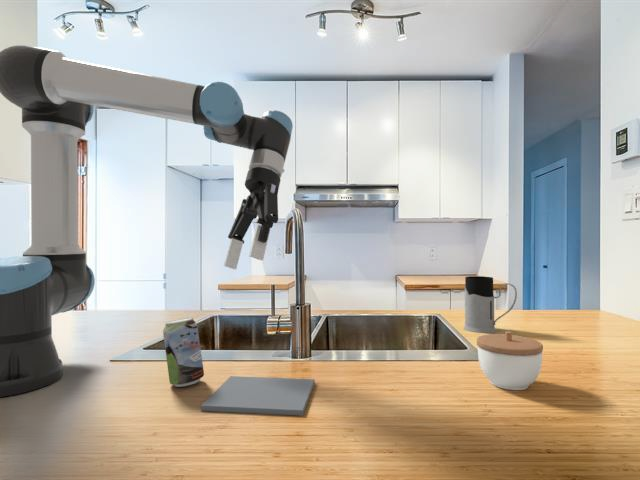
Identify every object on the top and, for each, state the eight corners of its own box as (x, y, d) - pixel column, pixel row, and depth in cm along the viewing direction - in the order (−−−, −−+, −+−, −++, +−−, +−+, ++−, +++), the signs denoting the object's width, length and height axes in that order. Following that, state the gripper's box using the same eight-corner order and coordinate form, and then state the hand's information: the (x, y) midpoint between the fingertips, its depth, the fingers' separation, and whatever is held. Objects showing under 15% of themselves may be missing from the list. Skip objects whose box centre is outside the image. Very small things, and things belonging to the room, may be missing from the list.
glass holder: (468, 324, 118) (467, 275, 118) (519, 330, 110) (519, 277, 110) (459, 330, 111) (459, 278, 111) (514, 337, 103) (513, 280, 103)
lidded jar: (516, 400, 63) (516, 342, 63) (464, 379, 72) (463, 329, 72) (556, 388, 68) (556, 334, 68) (502, 370, 77) (502, 323, 77)
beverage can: (193, 391, 68) (192, 323, 68) (155, 388, 69) (155, 321, 69) (210, 379, 74) (209, 316, 74) (175, 376, 75) (175, 314, 75)
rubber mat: (200, 410, 60) (200, 405, 60) (230, 380, 73) (230, 376, 73) (302, 415, 58) (302, 410, 58) (314, 383, 71) (314, 379, 71)
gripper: (307, 162, 79) (286, 259, 72) (256, 196, 100) (235, 275, 92) (276, 145, 76) (250, 246, 69) (229, 184, 96) (205, 266, 89)
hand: (242, 263), depth 81 cm, fingers open, 13 cm apart
